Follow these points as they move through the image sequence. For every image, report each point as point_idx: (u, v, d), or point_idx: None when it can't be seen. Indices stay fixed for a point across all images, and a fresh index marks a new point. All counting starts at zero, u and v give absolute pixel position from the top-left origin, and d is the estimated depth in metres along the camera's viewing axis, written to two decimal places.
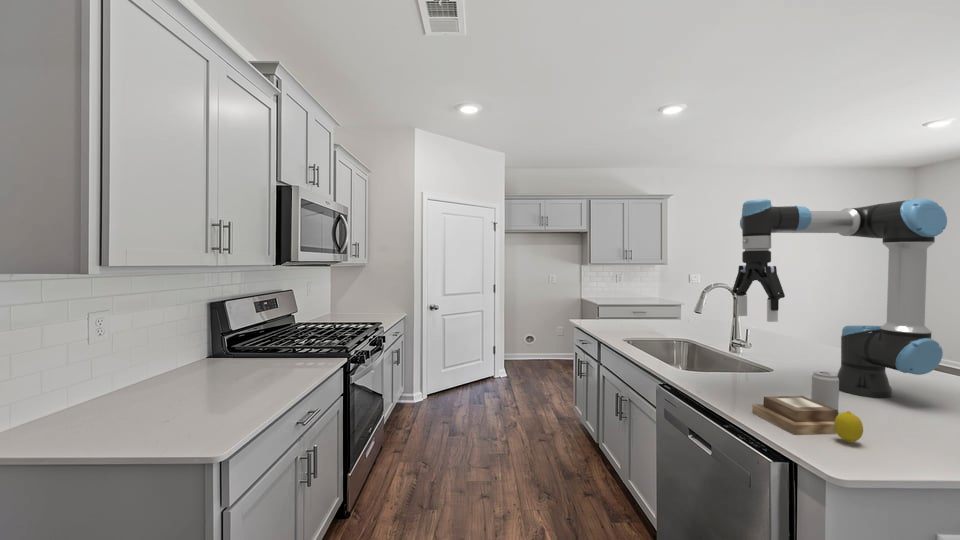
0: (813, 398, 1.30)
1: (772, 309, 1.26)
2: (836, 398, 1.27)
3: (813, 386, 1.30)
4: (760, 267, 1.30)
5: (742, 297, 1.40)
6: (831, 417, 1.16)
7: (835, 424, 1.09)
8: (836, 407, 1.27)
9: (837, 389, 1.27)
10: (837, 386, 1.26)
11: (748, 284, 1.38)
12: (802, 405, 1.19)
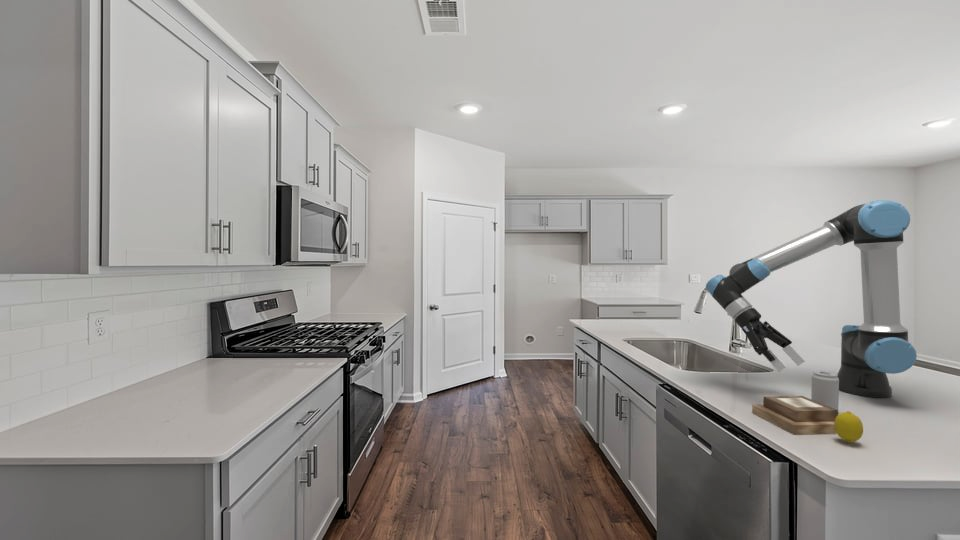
0: (813, 398, 1.30)
1: None
2: (836, 398, 1.27)
3: (813, 386, 1.30)
4: None
5: (786, 348, 1.43)
6: (831, 417, 1.16)
7: (835, 424, 1.09)
8: (836, 407, 1.27)
9: (837, 389, 1.27)
10: (837, 386, 1.26)
11: (774, 337, 1.44)
12: (802, 405, 1.19)
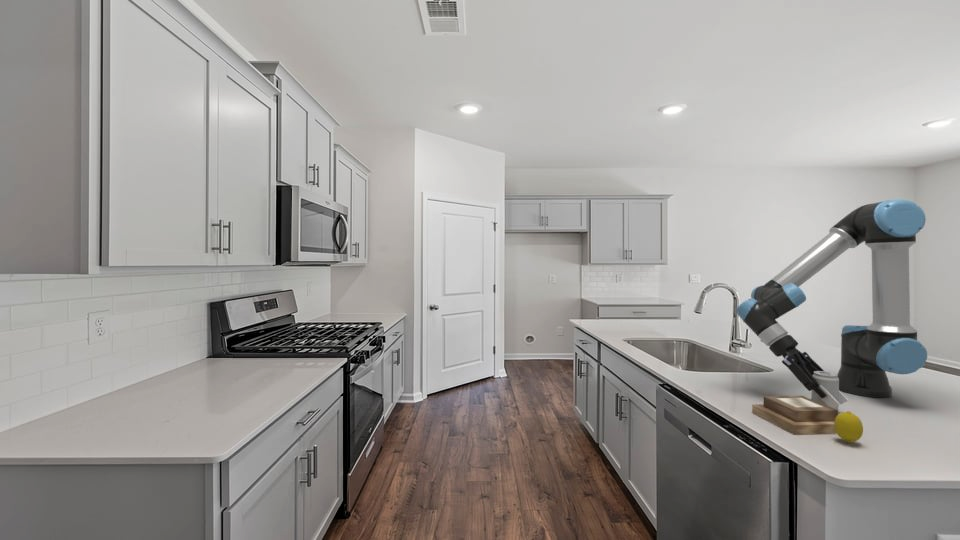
0: (813, 398, 1.30)
1: None
2: (836, 398, 1.26)
3: None
4: None
5: None
6: (831, 417, 1.16)
7: (835, 424, 1.09)
8: (836, 407, 1.27)
9: (837, 389, 1.26)
10: (837, 386, 1.26)
11: (812, 369, 1.34)
12: (802, 405, 1.19)
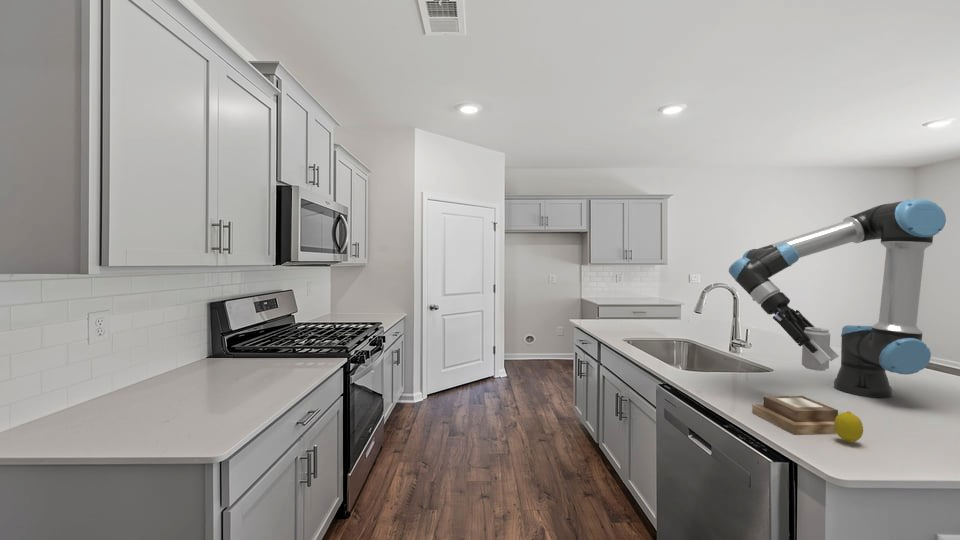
0: (803, 354, 1.28)
1: None
2: (827, 353, 1.25)
3: None
4: None
5: None
6: (831, 417, 1.16)
7: (835, 424, 1.09)
8: (827, 362, 1.25)
9: (828, 344, 1.25)
10: (828, 341, 1.25)
11: (803, 326, 1.32)
12: (802, 405, 1.19)
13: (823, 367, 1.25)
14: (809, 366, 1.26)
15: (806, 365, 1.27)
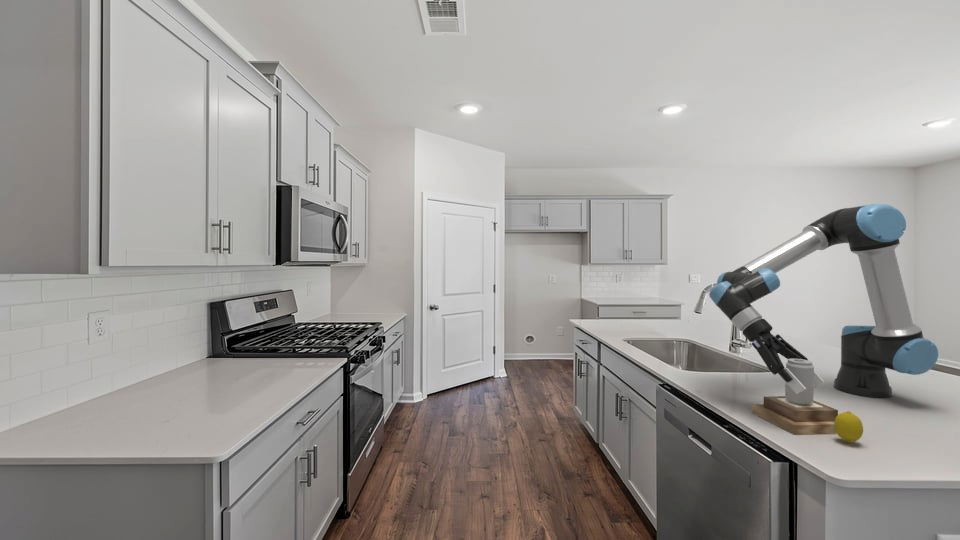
0: (787, 387, 1.22)
1: None
2: (811, 387, 1.18)
3: None
4: None
5: None
6: (831, 417, 1.16)
7: (835, 424, 1.09)
8: (811, 396, 1.19)
9: (812, 377, 1.19)
10: (811, 374, 1.18)
11: (787, 353, 1.27)
12: (802, 405, 1.19)
13: (807, 402, 1.18)
14: (793, 400, 1.20)
15: (790, 399, 1.21)
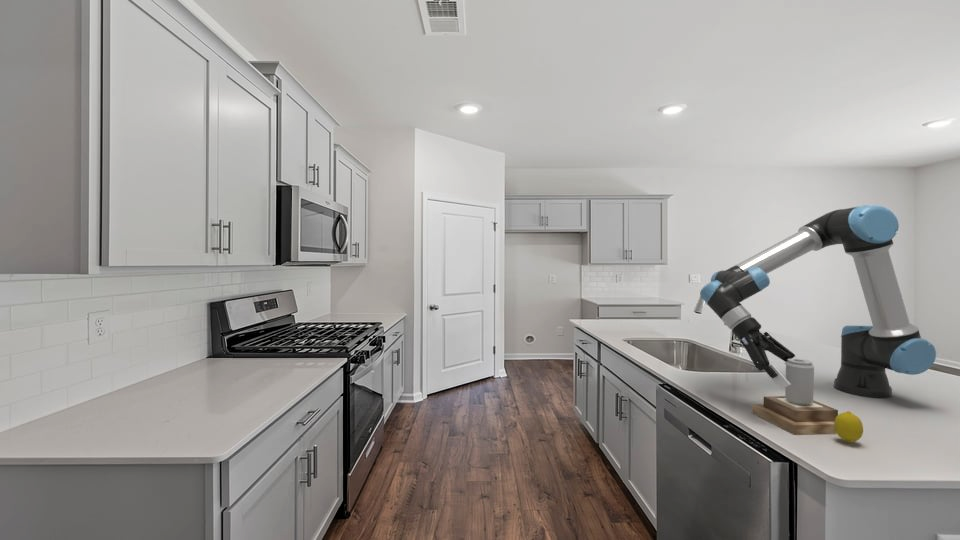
0: (787, 387, 1.22)
1: None
2: (811, 387, 1.18)
3: (787, 374, 1.22)
4: None
5: None
6: (831, 417, 1.16)
7: (835, 424, 1.09)
8: (811, 396, 1.19)
9: (812, 377, 1.19)
10: (811, 374, 1.18)
11: (776, 350, 1.30)
12: (802, 405, 1.19)
13: (807, 402, 1.18)
14: (793, 400, 1.20)
15: (790, 399, 1.21)
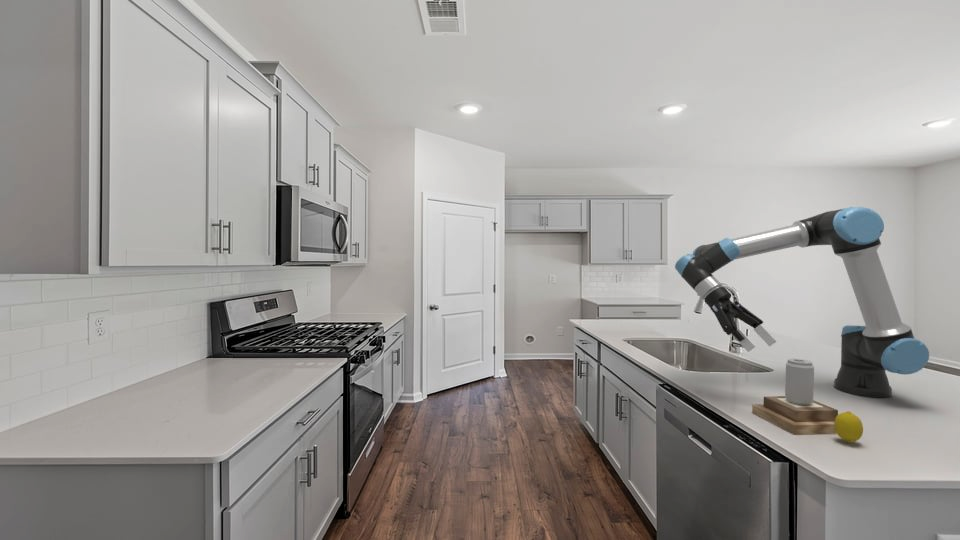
0: (787, 387, 1.22)
1: None
2: (811, 387, 1.18)
3: (787, 374, 1.22)
4: None
5: (757, 328, 1.36)
6: (831, 417, 1.16)
7: (835, 424, 1.09)
8: (811, 396, 1.19)
9: (812, 377, 1.19)
10: (811, 374, 1.18)
11: (745, 317, 1.37)
12: (802, 405, 1.19)
13: (807, 402, 1.18)
14: (793, 400, 1.20)
15: (790, 399, 1.21)
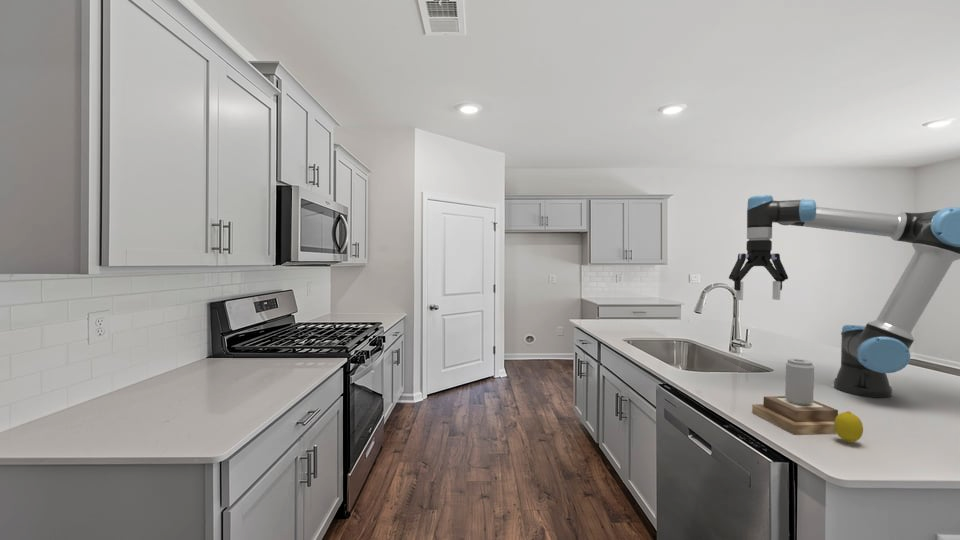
0: (787, 387, 1.22)
1: None
2: (811, 387, 1.18)
3: (787, 374, 1.22)
4: None
5: (775, 282, 1.53)
6: (831, 417, 1.16)
7: (835, 424, 1.09)
8: (811, 396, 1.19)
9: (812, 377, 1.19)
10: (811, 374, 1.18)
11: (770, 270, 1.52)
12: (802, 405, 1.19)
13: (807, 402, 1.18)
14: (793, 400, 1.20)
15: (790, 399, 1.21)
